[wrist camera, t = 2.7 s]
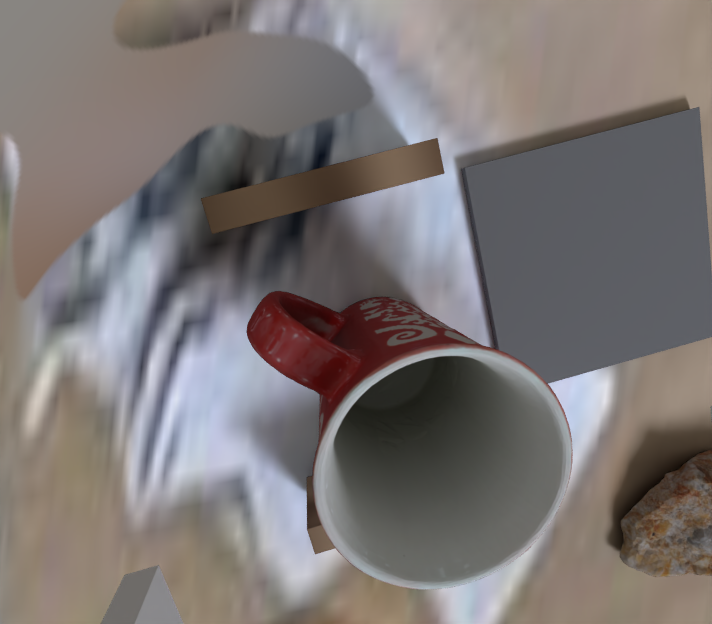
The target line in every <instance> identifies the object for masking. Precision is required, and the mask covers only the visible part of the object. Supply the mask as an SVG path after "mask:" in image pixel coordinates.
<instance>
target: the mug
mask: <svg viewBox="0 0 712 624" xmlns="http://www.w3.org/2000/svg"><path fill="white" fill-rule="evenodd" d="M247 336H248V339H249V341H250V343H251V345H252V347H253V348H254V350H255V351H256V352H257V353H258V354H259V355H260V356H261V357H262V358H263V359H264V360H265V361H266V362H267V363H268V364H270V365H271V366H272V367H274V368H275V369H276V370H278V371H279V372H280V373H282V374H283V375H285V376H286V377H288V378H290V379H292V380H294V381H296V382H297V383H299V384H301V385H303V386H305V387H307V388H309V389H312V390H314V391H316V392H317V393H319V394H320V410H319V443H318V446H317V450H316V453H315V458H314V464H313V476H312V488H313V498H314V503H315V507H316V511H317V515H318V518H319V520H320V523H321V525H322V527H323V529H324V531H325V533H326V535H327V537H328V538H329V540H330V541H331V543H332V544H333V546H334V547H335V548H336V549H337V551H338V552H339V553H340V554H341V555H342V556H343V557H344V558H345V559H346V560H347V561H348V562H349V563H350V564H352V565H353V566H354V567H356V568H357V569H359V570H360V571H362V572H364V573H366V574H367V575H369V576H371V577H373V578H375V579H378V580H380V581H383V582H385V583H389V584H392V585H396V586H401V587H405V588H412V589H442V588H450V587H455V586H459V585H464V584H467V583H470V582H473V581H476V580H479V579H481V578H484V577H486V576H488V575H491V574H492V573H494V572H496V571H498V570H500V569H502V568H504V567H505V566H507V565H509V564H510V563H511V562H513V561H514V560H516V559H517V558H518V557H520V556H521V555H522V554H523V553H524V552H526V551H527V550H528V549H529V548H530V547H531V546H532V545H533V544H534V543H535V542H536V540H537V539H538V538H539V537H540V536H541V535H542V534H543V532H544V531H545V530H546V528H547V527H548V526H549V524H550V523H551V521H552V520H553V518H554V516H555V515H556V513H557V511H558V509H559V507H560V505H561V503H562V501H563V498H564V495H565V493H566V490H567V486H568V483H569V479H570V474H571V468H572V439H571V433H570V428H569V424H568V421H567V418H566V415H565V412H564V410H563V408H562V406H561V404H560V402H559V400H558V398H557V397H556V395H555V393H554V392H553V391H552V389H551V388H550V386H549V385H548V384H547V383H546V382H545V381H544V379H543V378H542V377H541V376H540V375H538V374H537V373H536V372H535V371H534V370H533V369H531V368H530V367H529V366H527V365H526V364H525V363H523V362H522V361H520V360H518V359H517V358H515V357H513V356H511V355H509V354H507V353H505V352H502V351H499V350H496V349H493V348H490V347H486V346H482V345H480V344H479V343H477V342H475V341H473V340H472V339H470V338H468V337H467V336H465V335H463V334H461V333H460V332H458V331H456V330H455V329H452V328H450V327H448V326H447V325H445V324H444V323H442V322H441V321H439V320H437V319H435V318H434V317H432V316H430V315H429V314H427V313H425V312H423V311H422V310H421V309H419V308H418V307H416V306H414V305H412V304H410V303H408V302H405V301H403V300H399V299H395V298H389V297H374V298H369V299H365V300H362V301H359V302H356V303H354V304H353V305H351V306H349V307H348V308H346V309H345V310H343V311H342V312H341V313H338V312H335V311H333V310H331V309H329V308H327V307H325V306H322V305H320V304H318V303H315V302H313V301H311V300H308V299H305V298H303V297H300V296H297V295H294V294H291V293H288V292H282V291H275V292H271V293H269V294H268V295H267V296H266V297H264V298H263V299H262V301H261V302H260V303H259V305H258V306H257V308H256V310H255V311H254V313H253V315H252V317H251V318H250V320H249V322H248V325H247Z"/></svg>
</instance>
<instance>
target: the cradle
mask: <svg viewBox="0 0 712 624" xmlns="http://www.w3.org/2000/svg"><path fill="white" fill-rule="evenodd" d="M440 174H444V169H443V164H442V159H441V154H440V149H439V144H438V139H437V138H435V139H431V140H428V141H424V142H420V143H416V144H412V145H408V146H404V147H400V148H396V149H392V150H388V151H385V152H381V153H377V154H373V155H369V156H365V157H361V158H357V159H353V160H349V161H346V162H342V163H338V164H334V165H330V166H326V167H322V168H318V169H314V170H310V171H307V172H303V173H299V174H295V175H291V176H287V177H283V178H279V179H275V180H271V181H268V182H264V183H260V184H256V185H252V186H248V187H244V188H240V189H236V190H232V191H229V192H225V193H221V194H217V195H213V196H209V197H205V198H201V201H202V204H203V207H204V210H205V213H206V216H207V220H208V223H209V226H210V229H211V232H212V234H214V233H217V232H221V231H225V230H229V229H233V228H237V227H240V226H244V225H248V224H252V223H256V222H260V221H264V220H267V219H271V218H275V217H279V216H283V215H287V214H290V213H294V212H298V211H302V210H306V209H310V208H314V207H317V206H321V205H325V204H329V203H333V202H337V201H340V200H344V199H348V198H352V197H356V196H360V195H363V194H367V193H371V192H375V191H379V190H383V189H387V188H390V187H394V186H398V185H402V184H406V183H410V182H413V181H417V180H421V179H425V178H429V177H433V176H437V175H440ZM307 531H308V534H309V537H310V540H311V543H312V546H313V549H314V552H315V554H317V553H321V552H324V551H328V550H331V549H334V548H335V547H334V546H333V544H332V543H331V541H330V540H329V538H328V537H327V535H326V533H325V531H324V529H323V527H322V525H321V523H320V520H319V518H318V515H317V511H316V507H315V503H314V498H313V488H312V476H310V477H307Z"/></svg>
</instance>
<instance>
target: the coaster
mask: <svg viewBox="0 0 712 624" xmlns="http://www.w3.org/2000/svg"><path fill="white" fill-rule="evenodd" d="M461 170H462V175H463V180H464V185H465V190H466V196H467V201H468V206H469V211H470V217H471V222H472V227H473V232H474V238H475V243H476V248H477V253H478V259H479V264H480V269H481V274H482V279H483V285H484V290H485V295H486V300H487V306H488V311H489V316H490V321H491V327H492V332H493V337H494V342H495V347H496V350H499V351H502V352H505V353H507V354H509V355H511V356H513V357H515V358H517V359H518V360H520V361H522V362H523V363H525V364H526V365H527V366H529V367H530V368H531V369H533V370H534V371H535V372H536V373H537V374H538V375H540V376H541V377H542V378H543V379H544V381H545V382H546V383H547V384H548V383H551V382H555V381H558V380H562V379H565V378H569V377H573V376H576V375H580V374H583V373H587V372H590V371H594V370H597V369H601V368H604V367H608V366H611V365H615V364H618V363H622V362H625V361H629V360H632V359H636V358H639V357H643V356H646V355H650V354H653V353H657V352H660V351H664V350H667V349H671V348H674V347H678V346H681V345H685V344H688V343H692V342H695V341H699V340H702V339H706V338H709V337H712V273H711V259H710V246H709V232H708V219H707V205H706V191H705V178H704V164H703V151H702V137H701V124H700V110H699V107H697V108H693V109H689V110H685V111H681V112H678V113H674V114H670V115H666V116H662V117H658V118H655V119H651V120H647V121H643V122H639V123H635V124H631V125H628V126H624V127H620V128H616V129H612V130H608V131H605V132H601V133H597V134H593V135H589V136H585V137H581V138H578V139H574V140H570V141H566V142H562V143H558V144H555V145H551V146H547V147H543V148H539V149H535V150H531V151H528V152H524V153H520V154H516V155H512V156H508V157H505V158H501V159H497V160H493V161H489V162H485V163H482V164H478V165H474V166H470V167H466V168H462V169H461Z"/></svg>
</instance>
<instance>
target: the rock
mask: <svg viewBox="0 0 712 624" xmlns="http://www.w3.org/2000/svg"><path fill="white" fill-rule="evenodd" d="M621 528H622V531H623V539H624V543H623V545H622V549H621V552H620V558H621V560H622V561H623V562H624V563H625V564H626V565H628V566H629V567H632V568H634V569H636V570H638V571H642V572H644V573H646V574H648V575H650V576H654V577H661V576H668V577H669V576H676V575H677V576H682V575H685V574H694V575H706V576H712V450H708V451H705V452H703V453H699V454H697V455H696V456H695V457H693V458H691V459H690V460H689V461H688V462H686V463H685V464H683V465H682V467H681V468H680V469H679V470H677V471H672V472H669V473H666V474H665V476H664V479H662V480H661V482H660V483H659V484H657V485H656V486H655V487H654V488H652V489H651V490H649V491H648V492H647V494H646V495H645V496H644V497H643V498H642V499H641V500H640V501H639V502H638V503H637V504H636V505H635V506H634V507H633V508H632V509H631V510H630V511H629V512H628V513H627V514H626V515H625V516H624V518H623V519H622V520H621Z"/></svg>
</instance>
